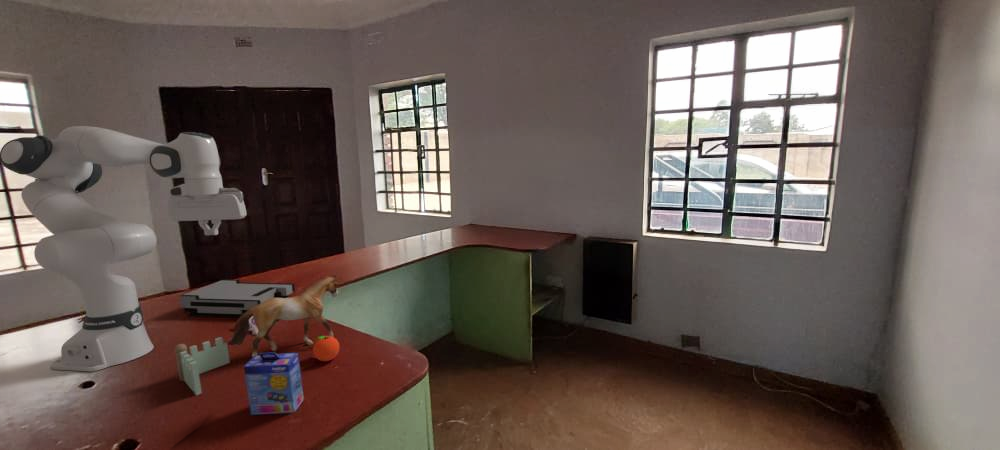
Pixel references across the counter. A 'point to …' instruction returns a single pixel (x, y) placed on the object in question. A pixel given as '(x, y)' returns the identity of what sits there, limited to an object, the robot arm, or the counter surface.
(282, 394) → the ink cartridge box
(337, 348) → the clementine
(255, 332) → the rabbit figure
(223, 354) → the fence post and fixed panel
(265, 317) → the horse figurine
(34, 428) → the counter surface
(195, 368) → the folding fence panel
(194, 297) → the game console
